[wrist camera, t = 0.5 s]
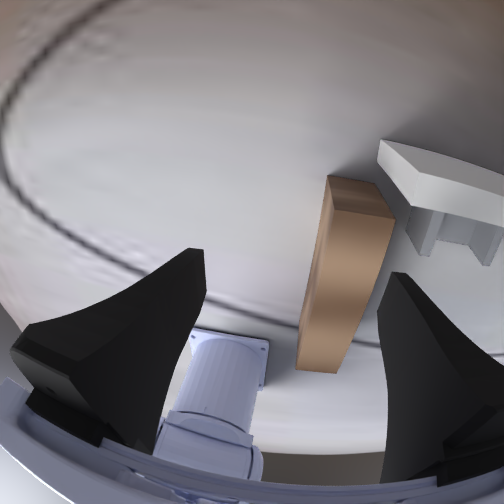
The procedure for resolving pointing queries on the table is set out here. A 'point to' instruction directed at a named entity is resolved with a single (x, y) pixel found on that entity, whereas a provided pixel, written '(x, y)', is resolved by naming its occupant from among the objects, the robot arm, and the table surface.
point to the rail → (342, 271)
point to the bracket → (447, 199)
